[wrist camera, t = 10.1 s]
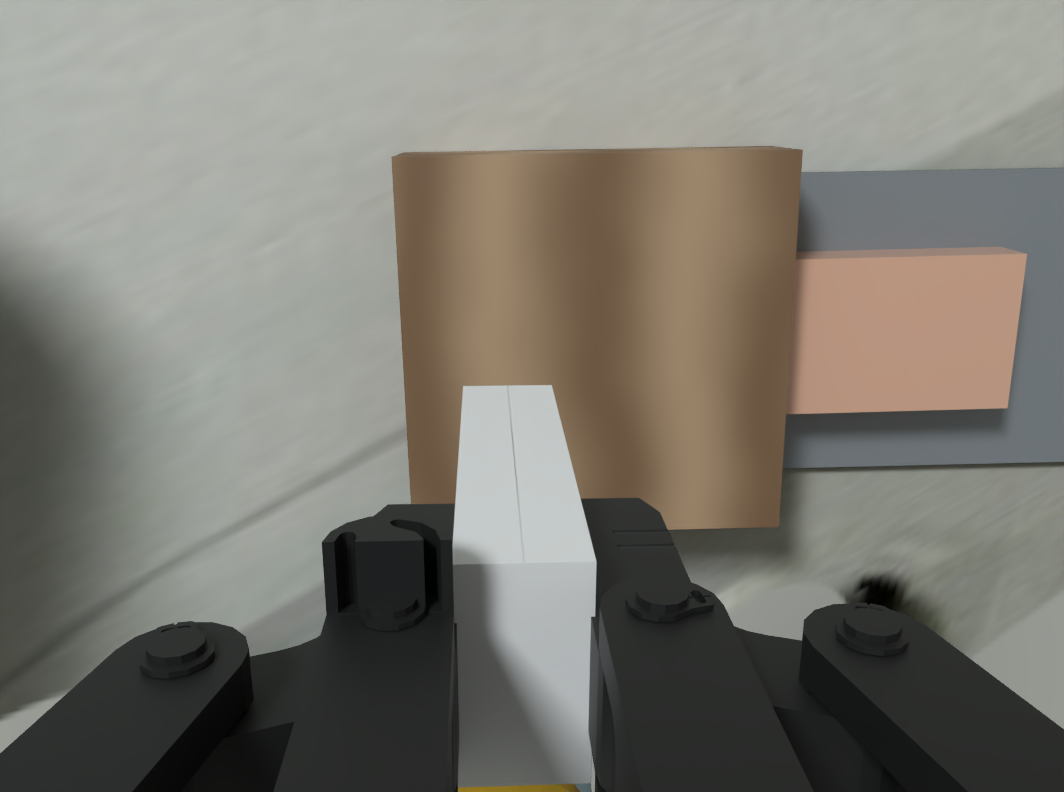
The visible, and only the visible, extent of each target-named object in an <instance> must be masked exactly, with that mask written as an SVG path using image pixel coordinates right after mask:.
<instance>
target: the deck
mask: <svg viewBox="0 0 1064 792" xmlns="http://www.w3.org/2000/svg"><path fill="white" fill-rule="evenodd" d="M802 152H803V150H799V149H791V148H782V147H774V146H753V147H696V148H638V149H580V150H522V151H465V152H407V153H401V154H399V155H396V156H393V157H392V173H393V191H394V209H395V227H396V244H397V262H398V280H399V298H400V315H401V333H402V351H403V369H404V387H405V404H406V422H407V440H408V458H409V475H410V493H411V504H454V503H455V500H456V485H457V470H458V455H459V440H460V425H461V410H462V395H463V386H513V385H552V388H553V392H554V396H555V400H556V404H557V408H558V412H559V416H560V420H561V424H562V428H563V432H564V435H565V439H566V443H567V447H568V451H569V455H570V459H571V463H572V467H573V471H574V475H575V479H576V483H577V487H578V491H579V495H580V498H581V499H588V498H640V499H642V500H643V501H644V502H646V503H647V504H649V505H650V506H652V507H653V508H655V509H656V510H657V511H659V512H660V513H661V516H662V518H663V520H664V522H665V525H666V527H667V529H668V530H676V529H717V528H758V527H779V517H780V501H781V485H782V469H783V453H784V438H785V422H786V406H787V390H788V374H789V358H790V342H791V327H792V311H793V295H794V279H795V263H796V247H797V231H798V216H799V200H800V184H801V168H802Z"/></svg>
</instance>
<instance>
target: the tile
mask: <svg viewBox="0 0 1064 792" xmlns="http://www.w3.org/2000/svg"><path fill="white" fill-rule="evenodd" d="M1026 259H1027V254H1026V253H1022V252H1019V251H1015V250H1011V249H1007V248H1004V247H965V248H925V249H884V250H844V251H804V252H796V263H795V279H794V295H793V311H792V327H791V342H790V358H789V374H788V390H787V406H786V414H816V413H852V412H888V411H924V410H961V409H997V408H1008V401H1009V393H1010V385H1011V377H1012V369H1013V361H1014V353H1015V345H1016V337H1017V330H1018V322H1019V314H1020V306H1021V298H1022V290H1023V282H1024V274H1025V266H1026Z"/></svg>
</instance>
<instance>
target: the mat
mask: <svg viewBox="0 0 1064 792" xmlns="http://www.w3.org/2000/svg"><path fill="white" fill-rule="evenodd" d="M965 247H1004V248H1007V249H1011V250H1015V251H1019V252H1022V253H1026V254H1027V259H1026V266H1025V274H1024V282H1023V290H1022V298H1021V306H1020V314H1019V322H1018V330H1017V337H1016V345H1015V353H1014V361H1013V369H1012V377H1011V385H1010V393H1009V401H1008V408H997V409H961V410H924V411H888V412H852V413H816V414H786V422H785V438H784V453H783V468H819V467H861V466H904V465H946V464H989V463H1032V462H1064V168H1025V169H969V170H913V171H857V172H801V184H800V200H799V216H798V231H797V247H796V252H804V251H844V250H884V249H925V248H965Z"/></svg>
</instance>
